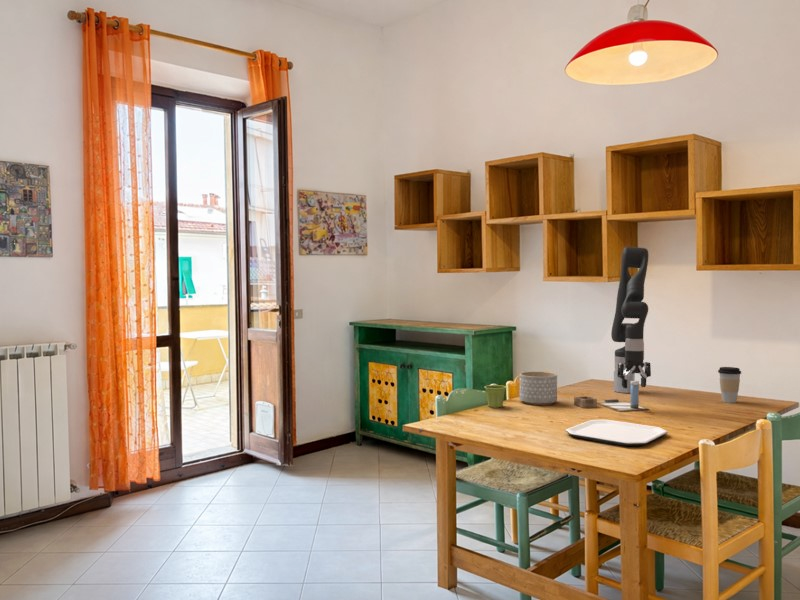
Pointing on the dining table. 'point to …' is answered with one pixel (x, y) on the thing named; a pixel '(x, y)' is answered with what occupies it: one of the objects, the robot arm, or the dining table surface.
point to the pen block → (585, 401)
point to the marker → (634, 394)
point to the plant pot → (495, 395)
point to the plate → (616, 432)
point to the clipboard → (620, 405)
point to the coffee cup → (729, 383)
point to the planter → (538, 388)
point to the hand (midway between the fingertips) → (634, 387)
